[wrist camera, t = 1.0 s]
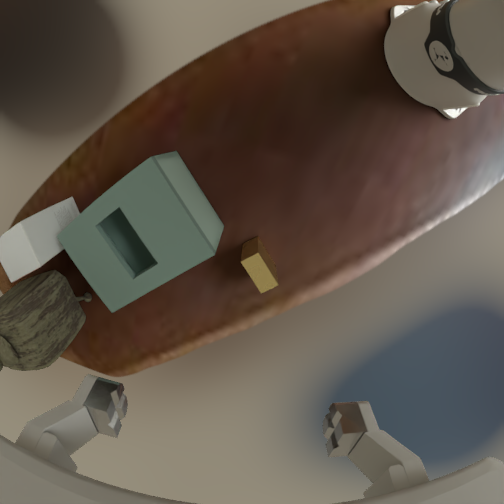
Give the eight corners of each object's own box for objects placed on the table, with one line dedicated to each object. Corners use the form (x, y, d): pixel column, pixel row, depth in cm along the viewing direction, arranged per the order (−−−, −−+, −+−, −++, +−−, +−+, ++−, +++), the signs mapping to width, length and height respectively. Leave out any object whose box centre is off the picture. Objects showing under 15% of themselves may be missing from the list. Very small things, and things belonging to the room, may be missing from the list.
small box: (57, 248, 41) (10, 284, 29) (42, 215, 39) (-10, 243, 27) (89, 232, 40) (41, 267, 28) (73, 195, 38) (19, 220, 26)
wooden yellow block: (257, 235, 40) (258, 252, 35) (275, 264, 42) (278, 285, 36) (242, 244, 41) (240, 261, 35) (260, 272, 42) (261, 293, 37)
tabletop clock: (50, 312, 46) (-20, 397, 23) (29, 271, 43) (-55, 348, 20) (102, 301, 45) (26, 409, 22) (80, 253, 42) (-21, 346, 18)
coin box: (176, 150, 36) (150, 156, 27) (224, 226, 40) (214, 254, 30) (93, 213, 39) (56, 236, 30) (137, 277, 43) (112, 313, 34)
